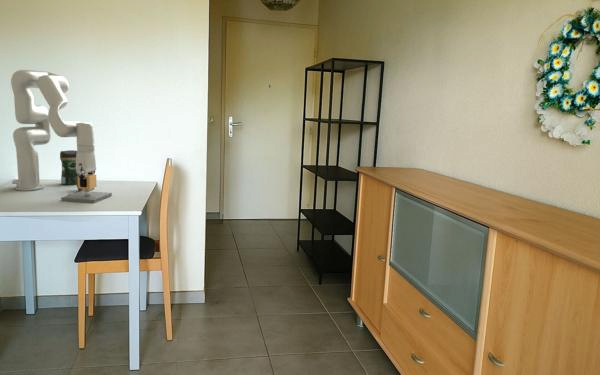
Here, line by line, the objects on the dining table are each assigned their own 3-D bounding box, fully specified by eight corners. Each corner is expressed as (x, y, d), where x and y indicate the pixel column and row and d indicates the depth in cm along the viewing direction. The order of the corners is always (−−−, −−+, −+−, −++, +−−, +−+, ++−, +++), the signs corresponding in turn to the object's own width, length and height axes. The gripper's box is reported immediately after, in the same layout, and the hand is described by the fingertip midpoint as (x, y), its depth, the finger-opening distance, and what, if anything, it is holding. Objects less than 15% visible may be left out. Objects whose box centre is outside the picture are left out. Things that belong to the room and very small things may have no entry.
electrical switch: (84, 192, 239) (81, 174, 237) (75, 192, 240) (72, 174, 238) (94, 189, 248) (92, 172, 247) (86, 189, 249) (84, 172, 247)
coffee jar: (76, 181, 265) (75, 149, 262) (83, 184, 260) (81, 150, 256) (59, 183, 258) (57, 150, 254) (64, 185, 253) (63, 151, 249)
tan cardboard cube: (78, 188, 223) (77, 175, 222) (85, 186, 229) (84, 174, 228) (90, 189, 222) (89, 176, 221) (96, 186, 228) (96, 174, 227)
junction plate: (61, 200, 219) (60, 187, 218) (81, 193, 236) (81, 181, 234) (93, 203, 218) (93, 189, 216) (111, 195, 234) (111, 183, 233)
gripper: (88, 146, 231) (89, 182, 234) (67, 149, 214) (69, 188, 217) (102, 147, 230) (103, 183, 233) (83, 150, 213) (84, 189, 217)
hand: (87, 185), depth 225 cm, fingers closed on tan cardboard cube, 5 cm apart
